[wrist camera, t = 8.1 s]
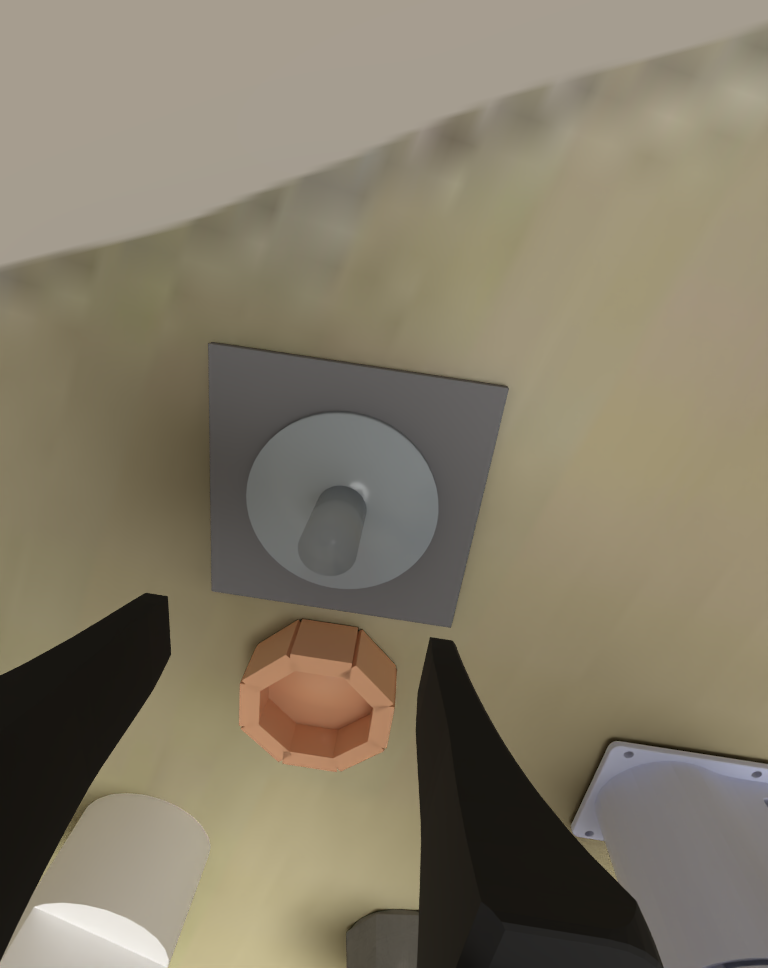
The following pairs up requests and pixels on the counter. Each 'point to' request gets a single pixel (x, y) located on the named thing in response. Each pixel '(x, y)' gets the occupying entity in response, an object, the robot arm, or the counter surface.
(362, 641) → the bowl
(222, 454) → the mat
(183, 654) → the counter surface
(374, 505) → the lid
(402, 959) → the coffeepot
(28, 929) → the cylinder with rectangular tab
